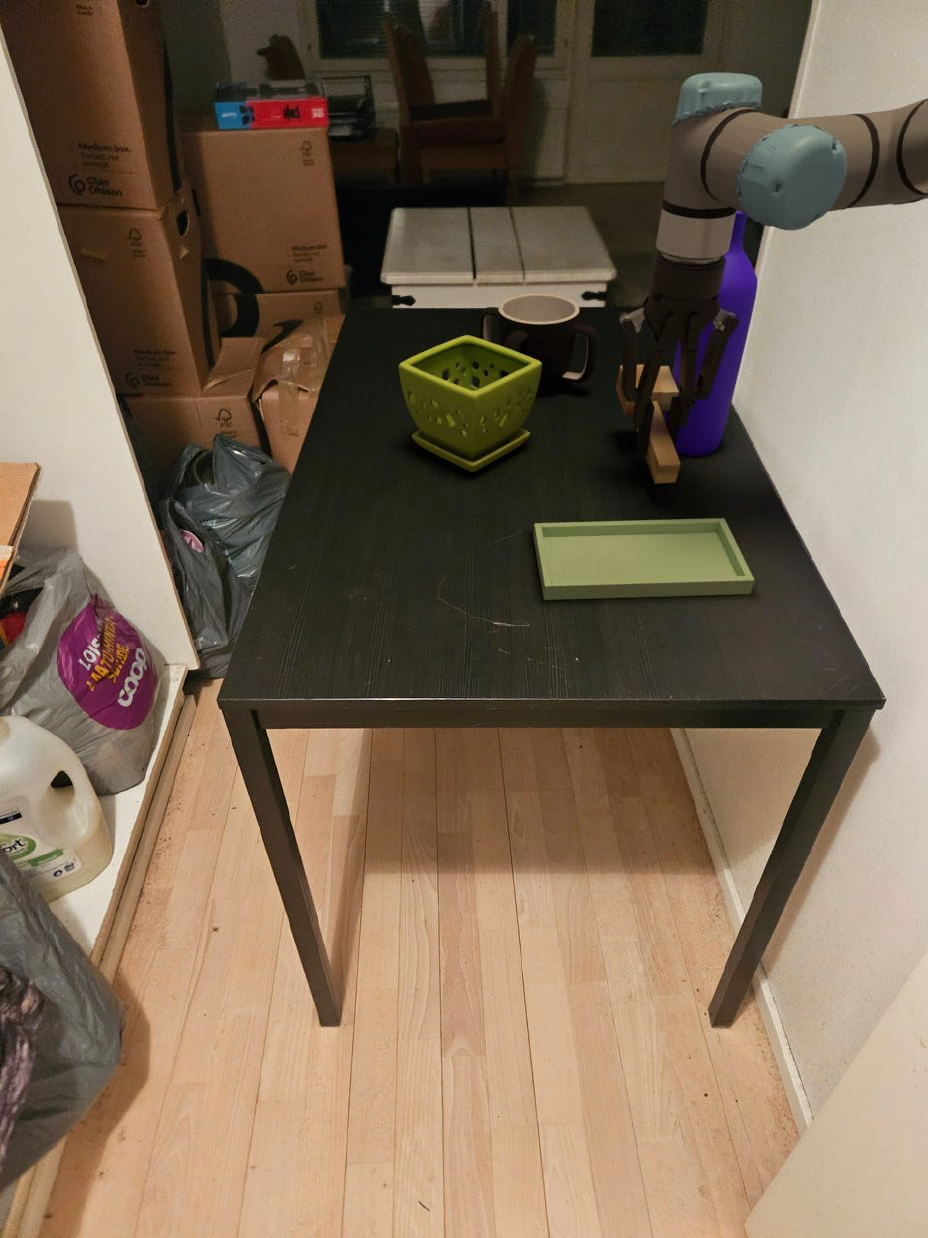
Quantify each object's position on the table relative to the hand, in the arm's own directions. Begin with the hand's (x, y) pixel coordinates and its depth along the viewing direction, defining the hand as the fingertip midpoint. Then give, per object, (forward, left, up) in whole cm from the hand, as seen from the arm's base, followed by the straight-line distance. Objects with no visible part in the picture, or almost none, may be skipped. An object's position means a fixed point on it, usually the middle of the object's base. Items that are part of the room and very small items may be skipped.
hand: (654, 448), depth 97 cm
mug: (+30, +12, -5) cm, 33 cm away
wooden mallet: (+4, -1, 0) cm, 4 cm away
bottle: (+10, -8, -5) cm, 14 cm away
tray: (-17, +5, -5) cm, 18 cm away
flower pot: (+10, +23, -5) cm, 26 cm away
